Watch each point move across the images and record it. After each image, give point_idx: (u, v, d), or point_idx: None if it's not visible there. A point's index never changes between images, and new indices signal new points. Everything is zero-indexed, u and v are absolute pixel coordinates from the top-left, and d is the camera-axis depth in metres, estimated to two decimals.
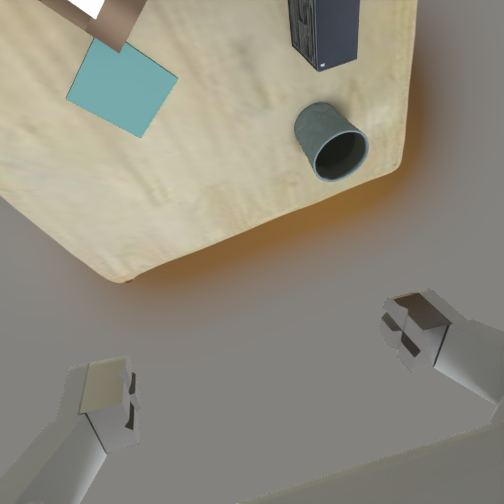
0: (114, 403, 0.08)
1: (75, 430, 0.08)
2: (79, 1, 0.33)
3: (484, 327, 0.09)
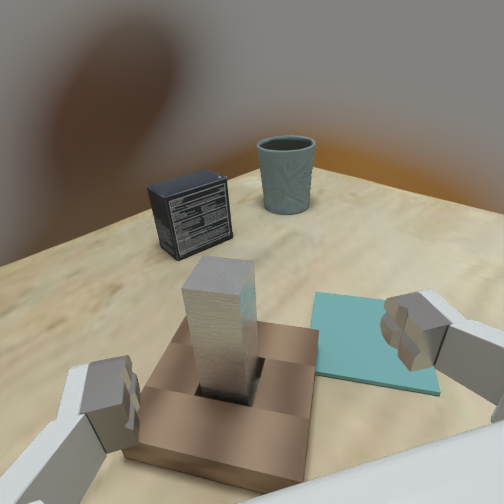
0: (114, 403, 0.08)
1: (75, 430, 0.08)
2: (240, 274, 0.24)
3: (484, 327, 0.09)
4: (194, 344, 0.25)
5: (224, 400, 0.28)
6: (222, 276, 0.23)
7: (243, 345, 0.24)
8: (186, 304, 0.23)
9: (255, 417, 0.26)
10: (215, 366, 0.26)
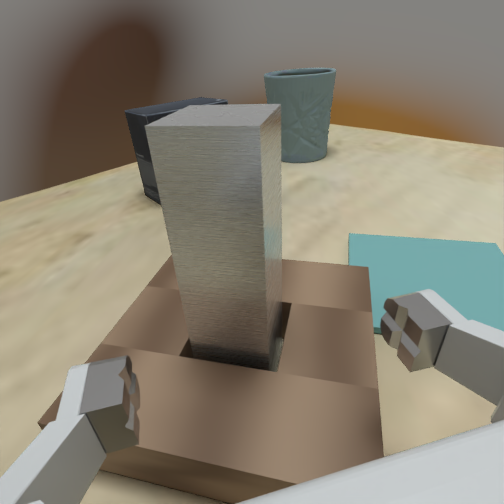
0: (114, 403, 0.08)
1: (75, 430, 0.08)
2: (259, 112, 0.13)
3: (484, 327, 0.09)
4: (175, 257, 0.14)
5: (229, 364, 0.17)
6: (225, 115, 0.12)
7: (264, 251, 0.13)
8: (157, 166, 0.12)
9: (283, 388, 0.15)
10: (213, 299, 0.15)
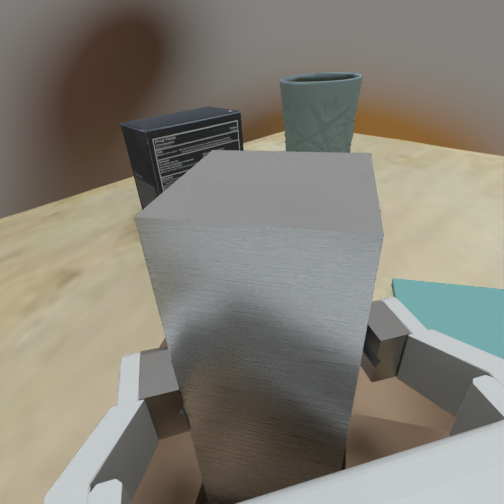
0: (171, 389, 0.08)
1: (137, 415, 0.08)
2: (347, 178, 0.07)
3: (443, 337, 0.09)
4: (189, 406, 0.09)
5: None
6: (287, 185, 0.07)
7: (348, 419, 0.07)
8: (158, 283, 0.06)
9: None
10: (249, 463, 0.09)
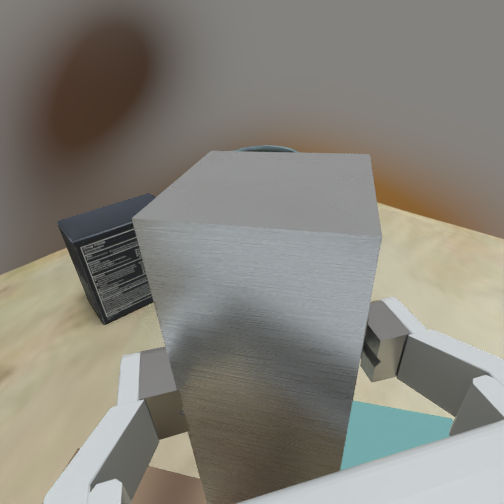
0: (171, 389, 0.08)
1: (136, 415, 0.08)
2: (346, 179, 0.07)
3: (443, 337, 0.09)
4: (187, 408, 0.09)
5: None
6: (285, 186, 0.07)
7: (347, 421, 0.07)
8: (156, 285, 0.06)
9: None
10: (247, 464, 0.09)
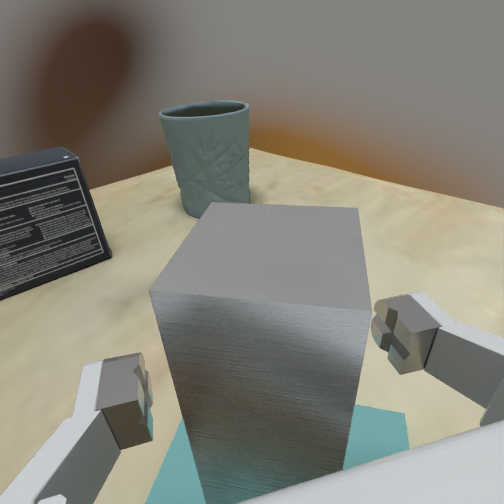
0: (130, 399, 0.08)
1: (92, 426, 0.08)
2: (338, 240, 0.08)
3: (473, 330, 0.09)
4: (195, 444, 0.09)
5: None
6: (284, 249, 0.07)
7: None
8: (169, 343, 0.07)
9: None
10: (252, 492, 0.10)
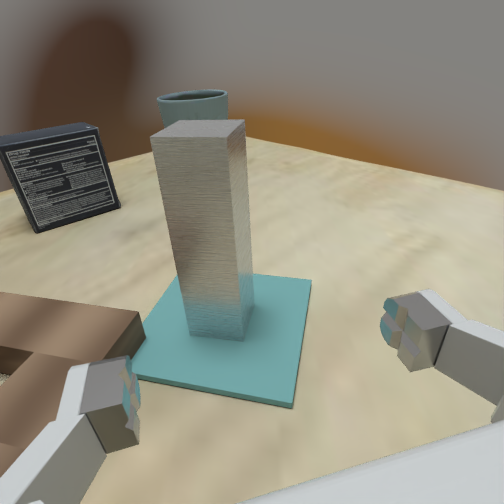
0: (114, 403, 0.08)
1: (75, 430, 0.08)
2: (228, 126, 0.18)
3: (484, 327, 0.09)
4: (171, 229, 0.20)
5: (211, 313, 0.23)
6: (204, 128, 0.18)
7: (233, 222, 0.19)
8: (158, 164, 0.18)
9: None
10: (199, 261, 0.21)
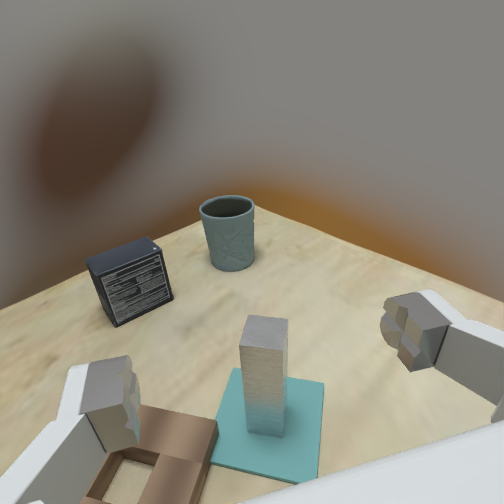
0: (114, 403, 0.08)
1: (75, 430, 0.08)
2: (280, 331, 0.32)
3: (484, 327, 0.09)
4: (244, 382, 0.34)
5: (263, 422, 0.37)
6: (267, 333, 0.32)
7: (282, 383, 0.33)
8: (241, 355, 0.31)
9: None
10: (259, 398, 0.34)
